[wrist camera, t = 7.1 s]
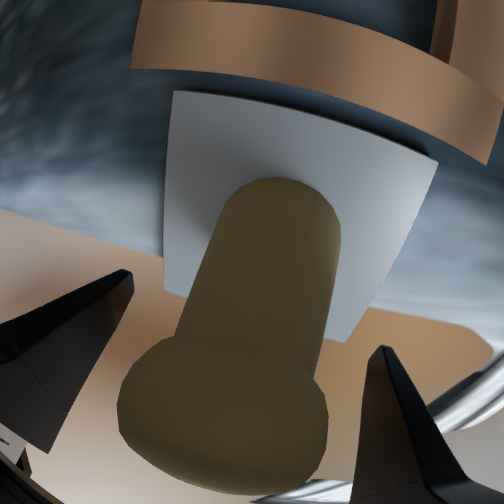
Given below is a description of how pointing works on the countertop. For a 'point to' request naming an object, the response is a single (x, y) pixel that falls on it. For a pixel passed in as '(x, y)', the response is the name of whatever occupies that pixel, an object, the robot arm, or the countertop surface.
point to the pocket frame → (345, 60)
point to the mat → (296, 168)
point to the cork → (244, 351)
